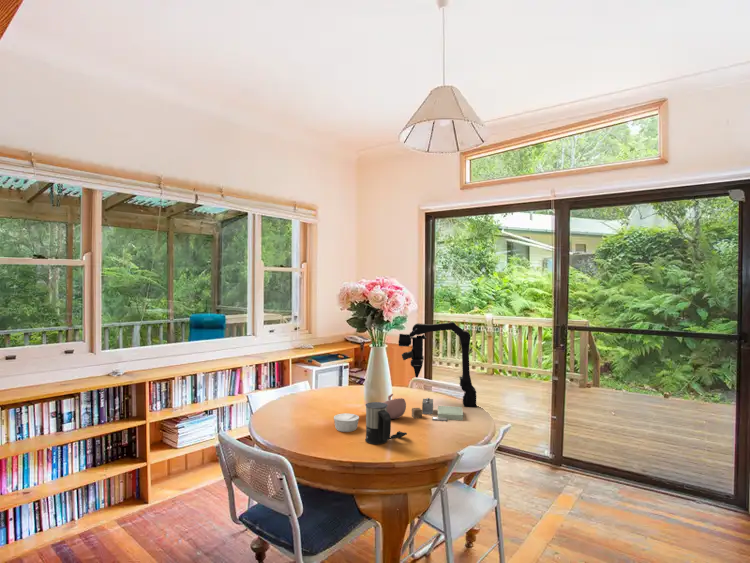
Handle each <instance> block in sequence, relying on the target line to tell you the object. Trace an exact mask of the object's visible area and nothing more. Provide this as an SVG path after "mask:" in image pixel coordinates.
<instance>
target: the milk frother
mask: <svg viewBox="0 0 750 563" xmlns="http://www.w3.org/2000/svg"><path fill="white" fill-rule="evenodd" d="M387 406H388V405H387V404H386V403H383V402H379V401H372V402H368V403H366V404H365V439H364V440H365V442H366V443H368V444H370V445H382V444H385V443H387V442H388V441H390V440H393V439H401V438H402V437H405V436H406V435H407V434H408V433H407V432H403V431H397V432H396V433H395V434H392V435H391V432H392V430H391V428H392V419H391V417H390V415H389V413H388V412H387Z"/></svg>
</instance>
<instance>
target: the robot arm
mask: <svg viewBox="0 0 750 563" xmlns="http://www.w3.org/2000/svg"><path fill="white" fill-rule="evenodd" d="M441 331H443V332H444V331H452V332H453V333H455V334H456V336H458V338H459V341H460V346H461V365H462V366H461V367H462V369H461V370H462V371H461V372H462V373H461V376H459V382H458V383H459V387H461V388H460V389H461V390H462V391H463V396H462V406H464V407H466V408H468V407H469V408H477V390H476V387H474V385H473V384H472V379H471V374H470V344H471V334H470V332H469V331H468V330H464V329H462V328H461V327H460V326H459V325H457V324H456V322H454V321H451V322H443V323H434V324H433V323H431V324H429V323H427V324H426V323H415V324H414V325H413V326H412V328H411V332H409V333H399V334H398V336H399V337H398V347H410V346H411V347H412V348H411V350H410V351H409V350H408V351H404V352H403V353H402V354H401V358H402V360H403V361H406V360H408V359H410V366H411V367H412V368H413V370H414V377H415V378H419V375H420V373H421V370H422V368H423V363H424V360H425V359H424V358H425V356H424V355H423V354H424V340H426V339H427V336H426V335H425V334H427V333H430V332H441Z"/></svg>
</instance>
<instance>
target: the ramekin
mask: <svg viewBox="0 0 750 563" xmlns="http://www.w3.org/2000/svg"><path fill="white" fill-rule="evenodd" d="M333 420H334V427H335V429H336V430H337V431H338V432H342V433H349V432H353V431H356V430H357V429H358V424H359V420H360V416H359V415H357V414H354V413H346V412H344V413H339V414H335V415H334V416H333Z"/></svg>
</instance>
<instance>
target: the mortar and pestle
mask: <svg viewBox="0 0 750 563" xmlns="http://www.w3.org/2000/svg"><path fill="white" fill-rule="evenodd" d="M393 395H394V394H393V393H390V395H388V396H387V399H388V400H385V401H383V402H382V403H386V404H387V405H388V406H387V412H388V413H389V415H390V417H391V420H394V419H400V418H401V417H402V416H404V414H405V412H406V410H407V402H406V399H405V398H402V397H400V398H394V399H391V398H392V397H393Z"/></svg>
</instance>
